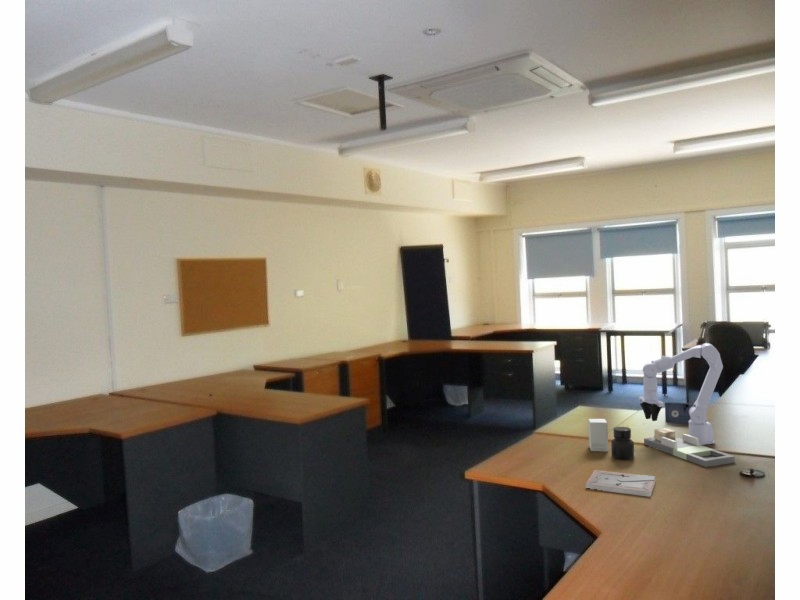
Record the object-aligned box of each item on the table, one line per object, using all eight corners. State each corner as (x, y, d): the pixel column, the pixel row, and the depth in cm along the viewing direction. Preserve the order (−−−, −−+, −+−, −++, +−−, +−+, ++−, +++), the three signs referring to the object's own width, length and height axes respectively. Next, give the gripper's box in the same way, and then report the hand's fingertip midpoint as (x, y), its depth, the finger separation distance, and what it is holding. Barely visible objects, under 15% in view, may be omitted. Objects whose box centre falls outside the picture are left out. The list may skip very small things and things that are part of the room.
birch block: (665, 437, 268) (665, 428, 268) (675, 440, 263) (675, 431, 262) (654, 438, 267) (654, 429, 266) (664, 441, 261) (663, 432, 261)
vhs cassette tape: (706, 424, 297) (705, 404, 296) (705, 425, 294) (705, 405, 294) (666, 420, 307) (665, 401, 306) (665, 422, 304) (664, 402, 304)
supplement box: (608, 451, 259) (607, 422, 258) (590, 451, 260) (589, 422, 260) (606, 446, 266) (605, 418, 266) (588, 446, 268) (587, 418, 267)
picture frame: (655, 482, 220) (594, 475, 231) (655, 476, 220) (594, 469, 231) (650, 498, 206) (585, 489, 216) (650, 491, 206) (585, 483, 216)
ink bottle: (634, 454, 253) (634, 426, 252) (635, 461, 245) (635, 431, 244) (610, 453, 256) (609, 425, 256) (610, 459, 248) (609, 430, 247)
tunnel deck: (670, 440, 271) (669, 428, 271) (734, 462, 237) (734, 448, 237) (644, 444, 268) (643, 431, 267) (705, 467, 233) (705, 453, 233)
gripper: (632, 388, 278) (633, 417, 278) (654, 393, 264) (654, 424, 264) (645, 386, 280) (646, 415, 280) (667, 392, 266) (668, 422, 266)
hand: (651, 419), depth 272 cm, fingers open, 4 cm apart
